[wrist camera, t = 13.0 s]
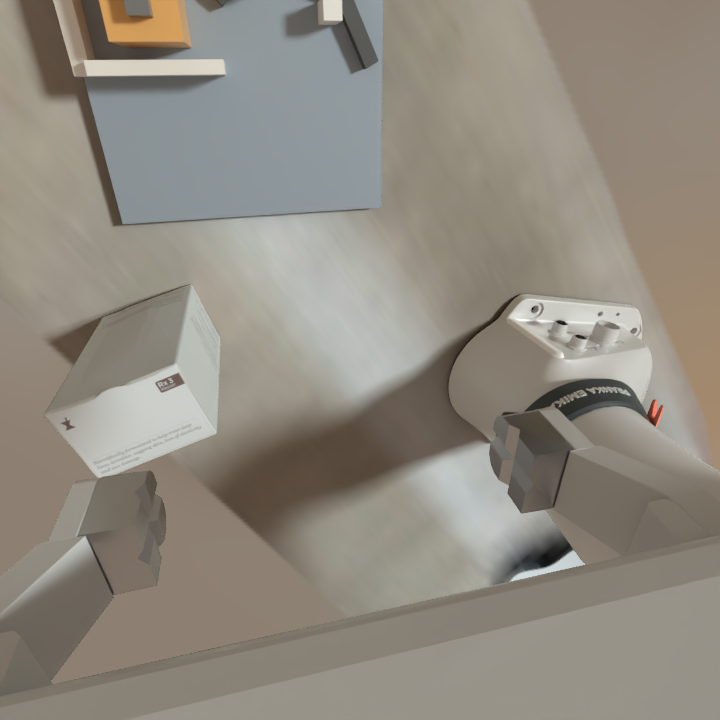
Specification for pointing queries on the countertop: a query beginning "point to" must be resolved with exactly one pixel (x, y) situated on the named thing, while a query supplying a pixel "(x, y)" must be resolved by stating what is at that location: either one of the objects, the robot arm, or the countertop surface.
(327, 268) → the countertop surface
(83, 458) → the skincare box
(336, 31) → the board
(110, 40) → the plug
